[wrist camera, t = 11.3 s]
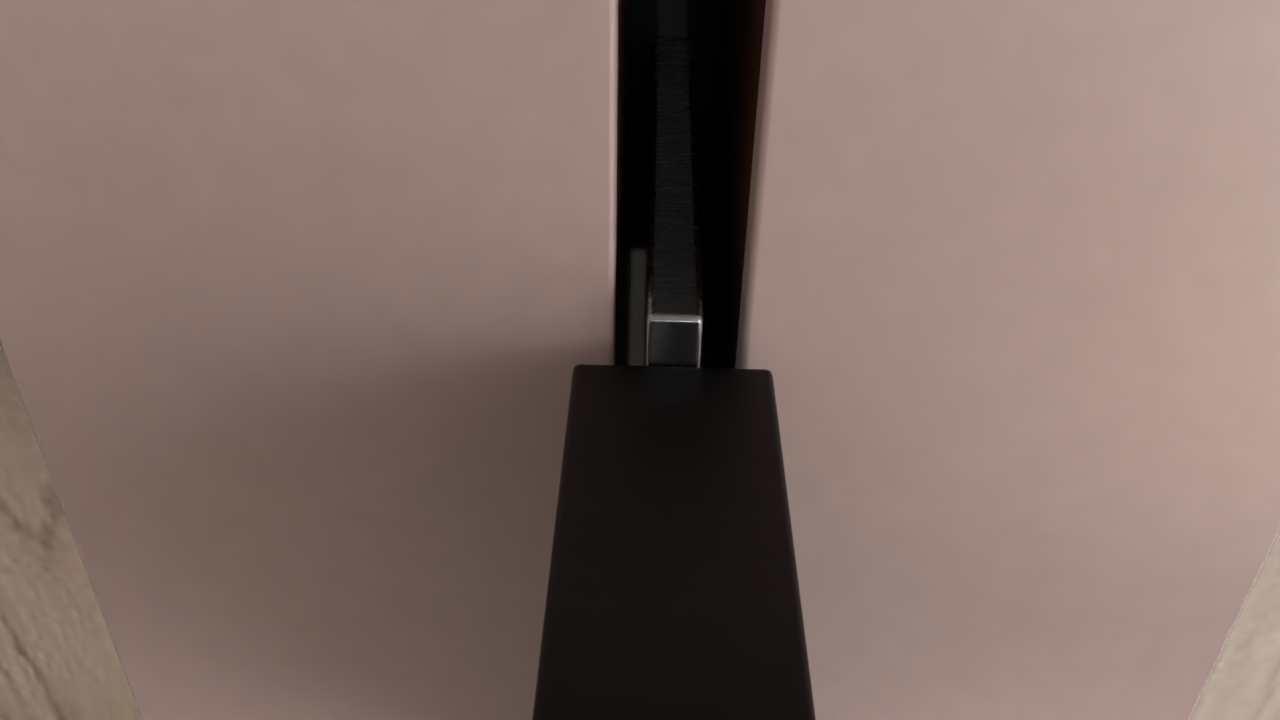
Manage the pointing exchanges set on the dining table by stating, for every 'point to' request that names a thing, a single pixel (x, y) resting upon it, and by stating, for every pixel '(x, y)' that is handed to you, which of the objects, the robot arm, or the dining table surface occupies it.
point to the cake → (596, 334)
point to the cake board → (658, 8)
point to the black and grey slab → (673, 501)
